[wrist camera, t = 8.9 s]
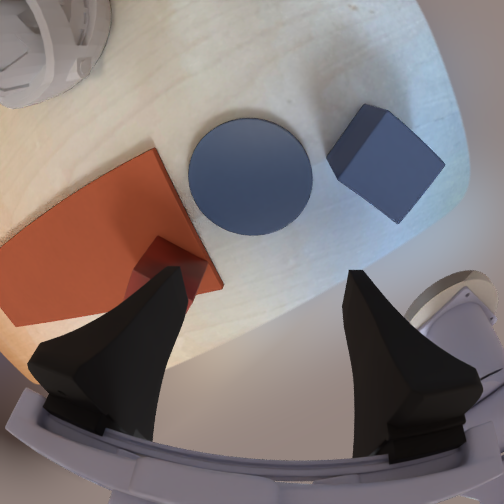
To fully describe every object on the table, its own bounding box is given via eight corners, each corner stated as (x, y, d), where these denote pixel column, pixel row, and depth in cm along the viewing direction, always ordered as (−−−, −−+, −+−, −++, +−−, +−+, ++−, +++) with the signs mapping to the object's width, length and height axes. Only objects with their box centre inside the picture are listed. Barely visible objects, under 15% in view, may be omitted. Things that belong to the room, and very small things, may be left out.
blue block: (414, 145, 15) (446, 164, 12) (377, 195, 18) (398, 225, 14) (364, 103, 15) (387, 109, 11) (325, 157, 17) (336, 179, 13)
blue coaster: (336, 161, 17) (337, 163, 16) (270, 250, 21) (270, 254, 21) (224, 95, 15) (222, 95, 15) (172, 197, 20) (170, 200, 19)
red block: (209, 262, 21) (193, 301, 18) (188, 297, 24) (172, 336, 20) (157, 234, 21) (132, 269, 17) (142, 273, 23) (120, 308, 19)
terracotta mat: (155, 147, 18) (151, 149, 17) (224, 284, 23) (222, 289, 23) (-23, 268, 29) (-25, 270, 28) (17, 324, 34) (15, 327, 34)
